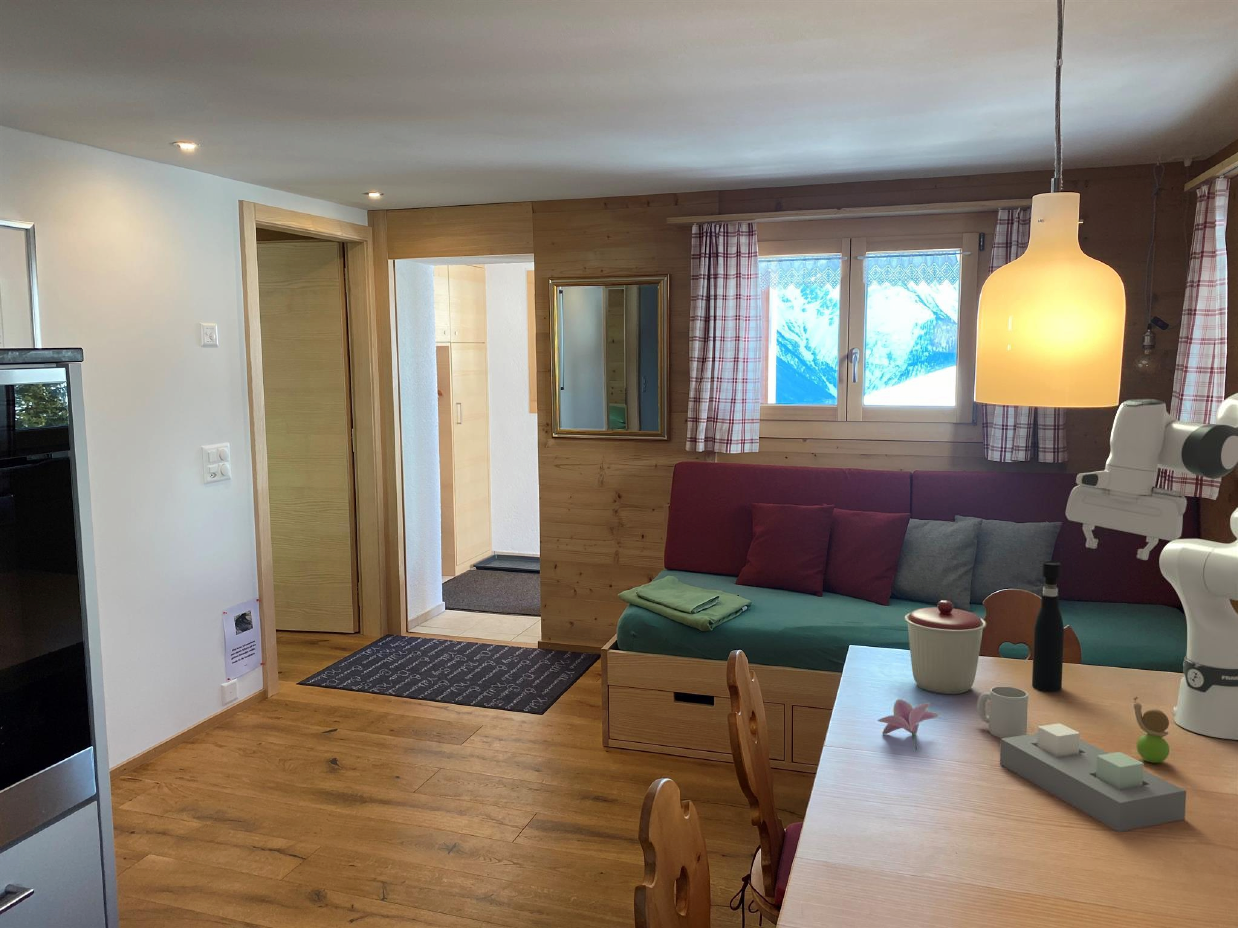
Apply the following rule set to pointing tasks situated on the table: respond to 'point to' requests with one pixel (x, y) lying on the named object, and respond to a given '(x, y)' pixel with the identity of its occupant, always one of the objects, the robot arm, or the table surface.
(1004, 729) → the cup
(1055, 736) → the white key
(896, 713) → the lily
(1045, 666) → the wine bottle
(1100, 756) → the pale green cube
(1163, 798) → the key console
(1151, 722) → the snail figurine
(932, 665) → the canister
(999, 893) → the table surface
